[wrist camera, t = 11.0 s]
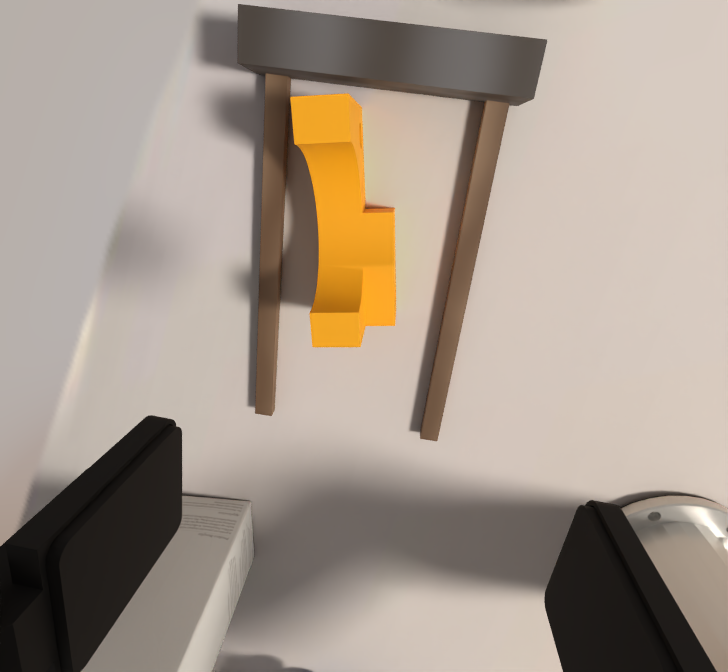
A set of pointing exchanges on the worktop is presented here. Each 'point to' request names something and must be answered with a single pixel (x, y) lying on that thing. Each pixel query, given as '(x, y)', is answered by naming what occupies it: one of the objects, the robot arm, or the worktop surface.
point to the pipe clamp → (345, 224)
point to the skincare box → (185, 594)
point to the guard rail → (387, 72)
